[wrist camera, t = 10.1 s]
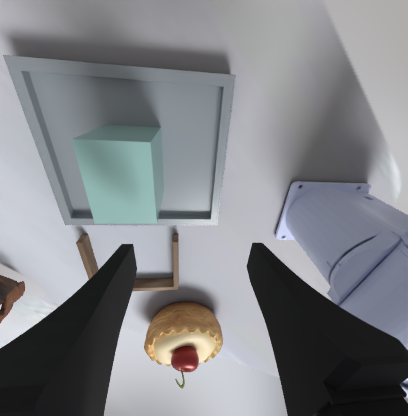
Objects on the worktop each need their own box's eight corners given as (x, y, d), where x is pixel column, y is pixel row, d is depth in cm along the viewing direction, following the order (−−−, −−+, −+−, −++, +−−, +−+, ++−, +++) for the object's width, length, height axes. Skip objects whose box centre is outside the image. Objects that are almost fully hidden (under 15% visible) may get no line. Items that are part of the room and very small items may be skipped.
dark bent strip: (178, 234, 24) (177, 242, 23) (178, 280, 28) (178, 289, 27) (82, 234, 23) (76, 242, 21) (97, 282, 27) (93, 292, 26)
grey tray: (231, 76, 16) (235, 74, 15) (215, 217, 23) (217, 225, 22) (20, 58, 14) (2, 54, 13) (72, 216, 21) (65, 224, 20)
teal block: (161, 127, 17) (150, 142, 12) (164, 189, 20) (156, 223, 15) (106, 124, 16) (71, 139, 11) (118, 189, 19) (94, 223, 14)
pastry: (226, 296, 32) (241, 359, 25) (208, 336, 38) (216, 397, 30) (152, 293, 29) (143, 361, 22) (144, 336, 35) (135, 403, 27)
